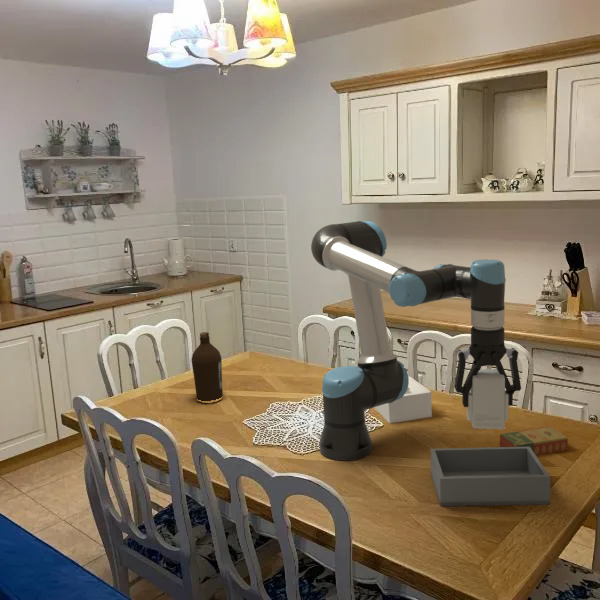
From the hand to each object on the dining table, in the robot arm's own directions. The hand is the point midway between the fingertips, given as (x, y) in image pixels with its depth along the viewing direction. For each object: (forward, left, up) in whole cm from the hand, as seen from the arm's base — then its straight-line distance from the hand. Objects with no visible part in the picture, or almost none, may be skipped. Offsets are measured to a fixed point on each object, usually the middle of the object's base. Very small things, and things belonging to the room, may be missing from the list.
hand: (487, 418), depth 148 cm
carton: (+18, +22, -19) cm, 34 cm away
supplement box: (0, 0, -1) cm, 1 cm away
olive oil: (-84, +68, -18) cm, 109 cm away
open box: (0, 0, -18) cm, 18 cm away
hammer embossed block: (-18, +56, -19) cm, 62 cm away
